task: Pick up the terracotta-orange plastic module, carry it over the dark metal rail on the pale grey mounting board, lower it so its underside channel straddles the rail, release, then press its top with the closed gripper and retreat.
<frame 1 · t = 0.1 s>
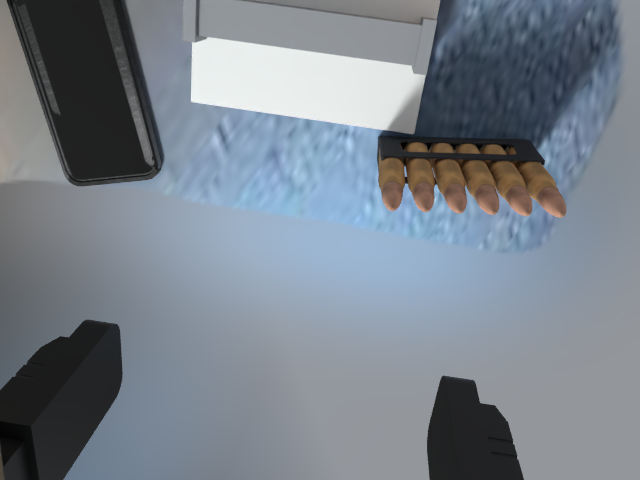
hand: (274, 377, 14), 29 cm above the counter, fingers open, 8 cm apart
rail board: (312, 27, 38), on the counter
ammunition clip: (451, 149, 40), on the counter
phone: (93, 82, 41), on the counter
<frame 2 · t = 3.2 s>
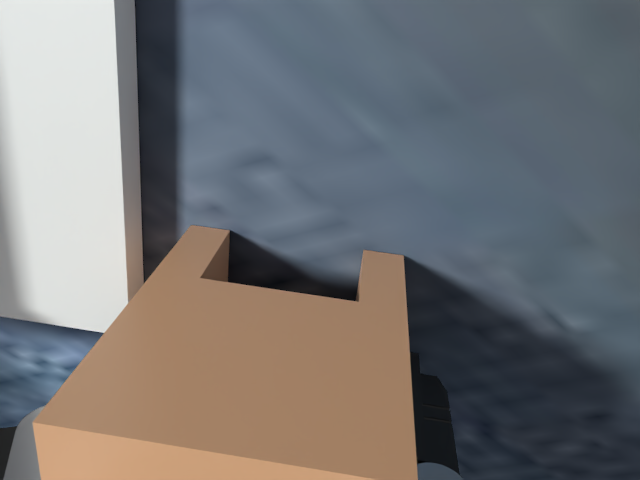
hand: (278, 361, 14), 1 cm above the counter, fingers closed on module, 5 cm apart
module: (286, 338, 15), on the counter, touching gripper
when the fingers open (2 cm above the counter, at t = 8.5 s): module stays where it is, resting on rail board.
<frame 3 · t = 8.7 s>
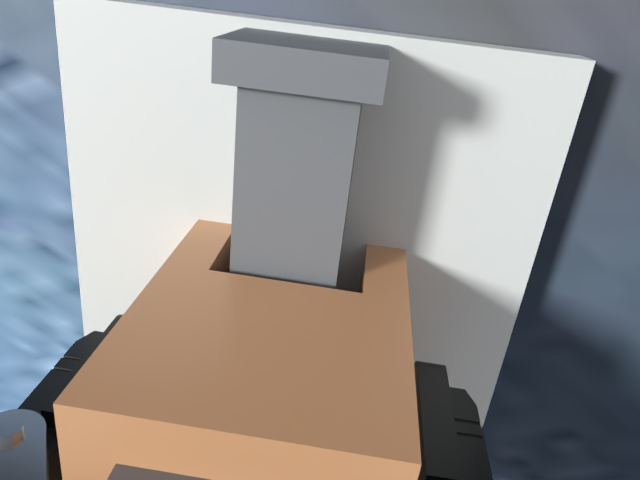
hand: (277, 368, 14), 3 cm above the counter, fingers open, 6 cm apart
rail board: (292, 310, 16), on the counter
module: (290, 330, 16), point 1 cm above the counter, touching rail board
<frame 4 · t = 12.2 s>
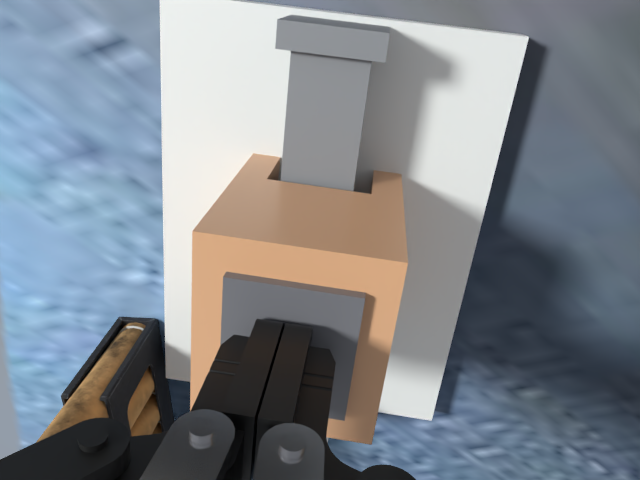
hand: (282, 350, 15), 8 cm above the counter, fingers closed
rail board: (318, 227, 22), on the counter
ammunition clip: (156, 406, 28), on the counter
module: (317, 238, 21), point 1 cm above the counter, touching gripper, rail board
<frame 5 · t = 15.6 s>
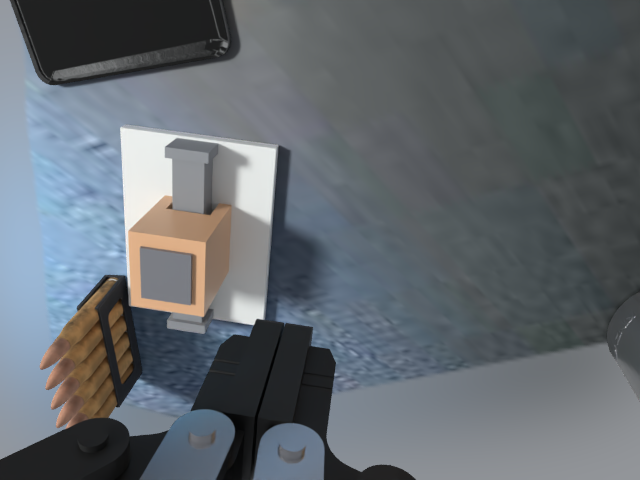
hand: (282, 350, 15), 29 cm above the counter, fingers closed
rail board: (200, 228, 46), on the counter
ammunition clip: (125, 324, 51), on the counter
module: (197, 234, 45), point 1 cm above the counter, touching rail board
phone: (124, 13, 40), on the counter
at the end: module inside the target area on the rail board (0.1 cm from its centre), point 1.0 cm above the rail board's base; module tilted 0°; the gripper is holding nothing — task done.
